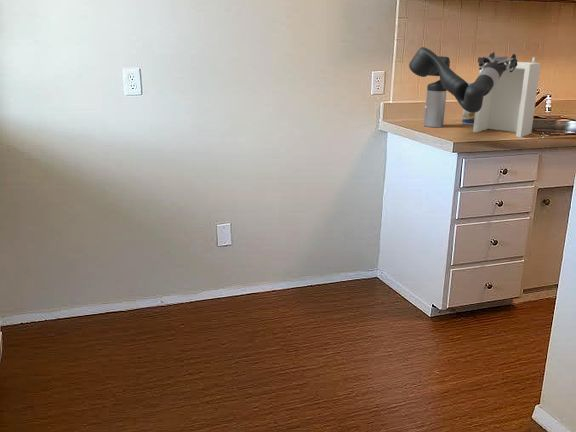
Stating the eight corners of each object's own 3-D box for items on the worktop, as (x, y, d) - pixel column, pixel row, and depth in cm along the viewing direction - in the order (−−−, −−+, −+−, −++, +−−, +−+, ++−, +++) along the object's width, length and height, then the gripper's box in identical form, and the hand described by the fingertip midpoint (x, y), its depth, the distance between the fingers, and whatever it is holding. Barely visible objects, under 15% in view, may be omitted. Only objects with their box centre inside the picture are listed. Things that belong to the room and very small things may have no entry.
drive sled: (477, 62, 274) (478, 57, 274) (496, 60, 293) (497, 56, 292) (488, 63, 272) (489, 57, 271) (507, 61, 290) (507, 56, 289)
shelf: (473, 131, 292) (481, 55, 282) (485, 127, 304) (493, 55, 294) (520, 137, 279) (530, 58, 269) (531, 133, 292) (541, 57, 281)
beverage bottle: (480, 123, 317) (485, 83, 311) (475, 125, 310) (480, 84, 305) (464, 122, 322) (468, 82, 316) (459, 123, 315) (463, 83, 309)
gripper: (472, 82, 254) (487, 61, 263) (507, 85, 246) (521, 64, 255) (471, 66, 250) (486, 45, 258) (507, 69, 242) (521, 47, 250)
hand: (504, 55), depth 256 cm, fingers open, 8 cm apart
